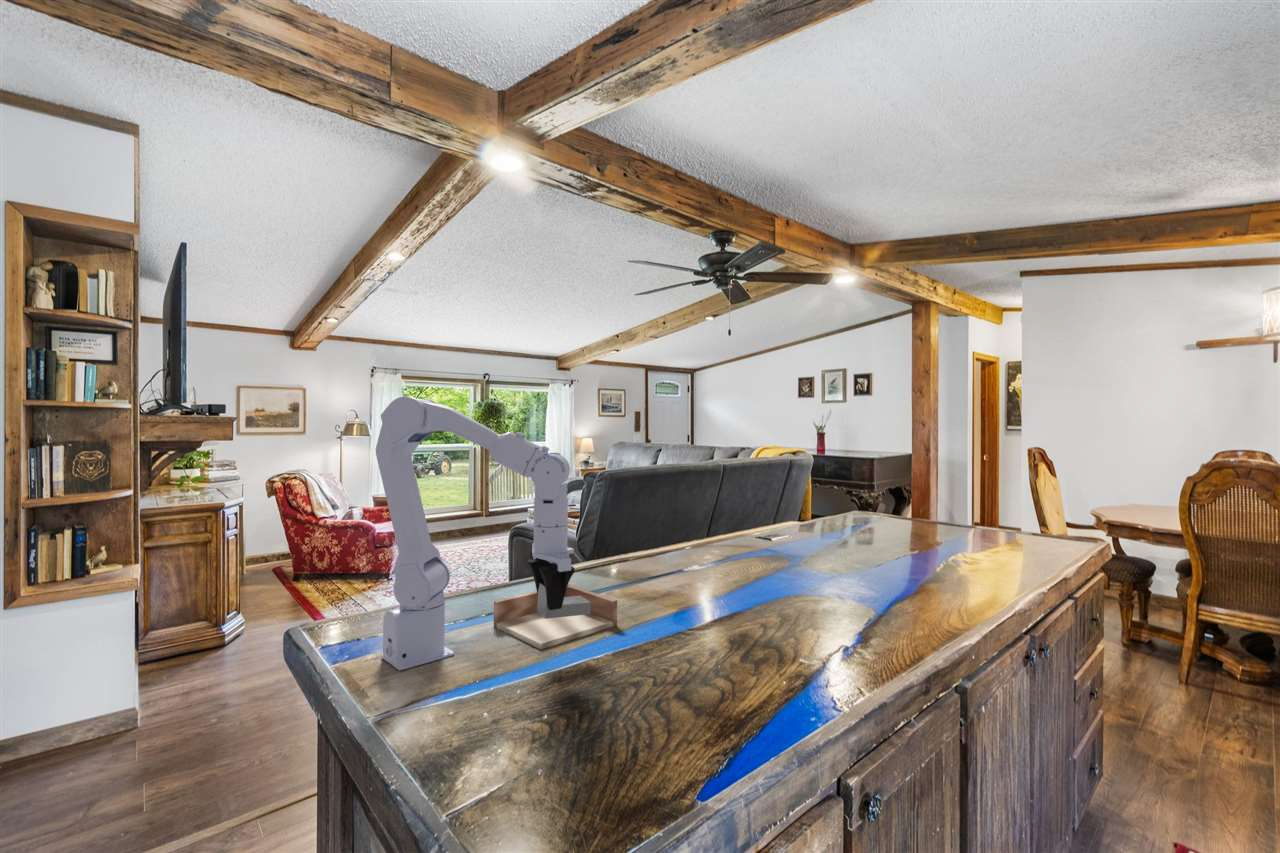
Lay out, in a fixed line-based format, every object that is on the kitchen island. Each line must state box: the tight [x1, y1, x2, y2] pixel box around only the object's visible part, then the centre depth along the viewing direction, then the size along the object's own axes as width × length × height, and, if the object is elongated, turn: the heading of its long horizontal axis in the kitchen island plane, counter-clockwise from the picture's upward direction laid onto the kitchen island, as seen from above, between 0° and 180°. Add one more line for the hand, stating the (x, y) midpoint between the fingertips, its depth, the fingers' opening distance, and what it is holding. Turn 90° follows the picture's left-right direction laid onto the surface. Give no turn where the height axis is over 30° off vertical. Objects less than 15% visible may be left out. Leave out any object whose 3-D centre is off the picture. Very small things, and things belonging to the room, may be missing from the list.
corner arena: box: [493, 583, 618, 650], centre depth 114 cm, size 18×16×5 cm
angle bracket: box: [537, 582, 591, 619], centre depth 100 cm, size 8×4×5 cm, turn 118°
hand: (550, 604), depth 98 cm, fingers closed on angle bracket, 4 cm apart
